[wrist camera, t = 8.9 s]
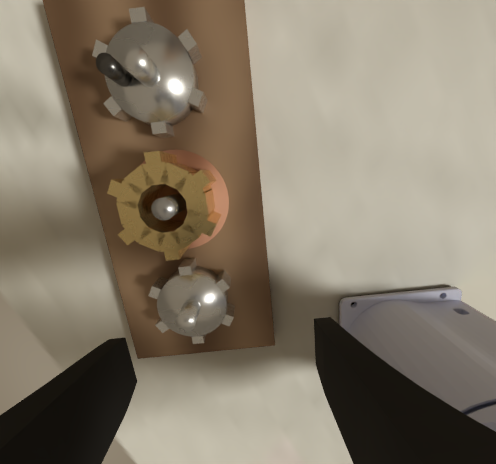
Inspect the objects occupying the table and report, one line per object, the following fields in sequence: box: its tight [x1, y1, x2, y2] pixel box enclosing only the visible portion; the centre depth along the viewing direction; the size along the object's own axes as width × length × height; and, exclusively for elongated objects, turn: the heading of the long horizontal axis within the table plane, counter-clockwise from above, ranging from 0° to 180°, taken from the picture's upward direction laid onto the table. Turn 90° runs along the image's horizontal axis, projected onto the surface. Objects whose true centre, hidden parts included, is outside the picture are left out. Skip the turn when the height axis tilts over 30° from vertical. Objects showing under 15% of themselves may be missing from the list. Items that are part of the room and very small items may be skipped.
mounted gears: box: [92, 7, 235, 344], centre depth 14 cm, size 6×20×3 cm, turn 6°
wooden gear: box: [107, 151, 221, 261], centre depth 14 cm, size 6×6×3 cm
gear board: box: [43, 0, 275, 359], centre depth 16 cm, size 11×24×1 cm, turn 6°
